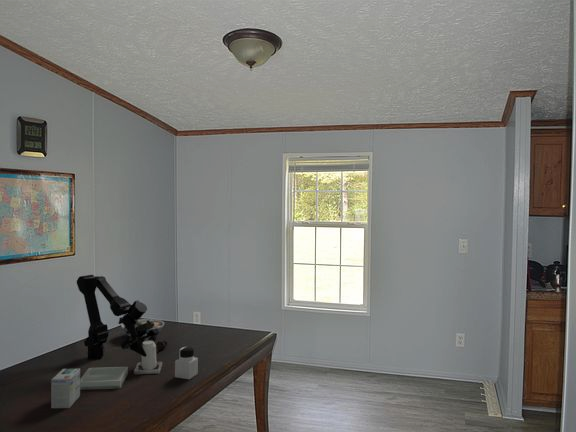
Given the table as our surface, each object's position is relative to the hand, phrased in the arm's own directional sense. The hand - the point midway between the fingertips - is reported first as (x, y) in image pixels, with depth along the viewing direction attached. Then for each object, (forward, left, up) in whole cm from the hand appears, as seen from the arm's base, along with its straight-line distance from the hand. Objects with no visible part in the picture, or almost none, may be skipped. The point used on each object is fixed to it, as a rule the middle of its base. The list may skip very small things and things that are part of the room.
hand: (150, 354), depth 205 cm
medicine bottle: (+16, -8, -7) cm, 19 cm away
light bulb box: (-26, -30, -7) cm, 41 cm away
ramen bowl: (-11, +51, -7) cm, 52 cm away
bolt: (0, +26, -7) cm, 27 cm away
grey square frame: (-1, +1, -7) cm, 7 cm away
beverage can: (-1, +2, -7) cm, 7 cm away
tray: (-17, -11, -7) cm, 22 cm away
